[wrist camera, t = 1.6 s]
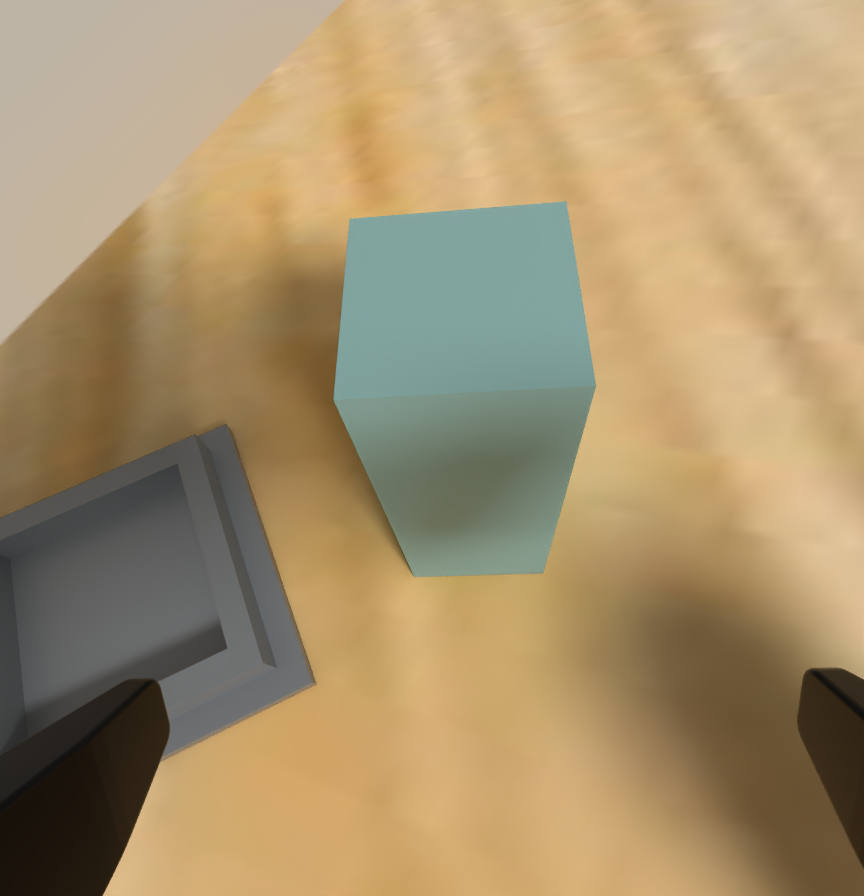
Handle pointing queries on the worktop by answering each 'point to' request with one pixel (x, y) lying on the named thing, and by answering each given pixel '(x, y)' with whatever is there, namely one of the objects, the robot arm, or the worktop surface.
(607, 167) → the worktop surface
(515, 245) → the teal block
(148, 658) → the socket holder
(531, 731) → the worktop surface
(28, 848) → the robot arm
